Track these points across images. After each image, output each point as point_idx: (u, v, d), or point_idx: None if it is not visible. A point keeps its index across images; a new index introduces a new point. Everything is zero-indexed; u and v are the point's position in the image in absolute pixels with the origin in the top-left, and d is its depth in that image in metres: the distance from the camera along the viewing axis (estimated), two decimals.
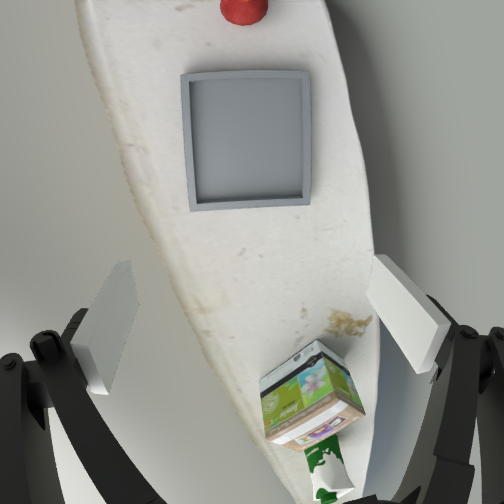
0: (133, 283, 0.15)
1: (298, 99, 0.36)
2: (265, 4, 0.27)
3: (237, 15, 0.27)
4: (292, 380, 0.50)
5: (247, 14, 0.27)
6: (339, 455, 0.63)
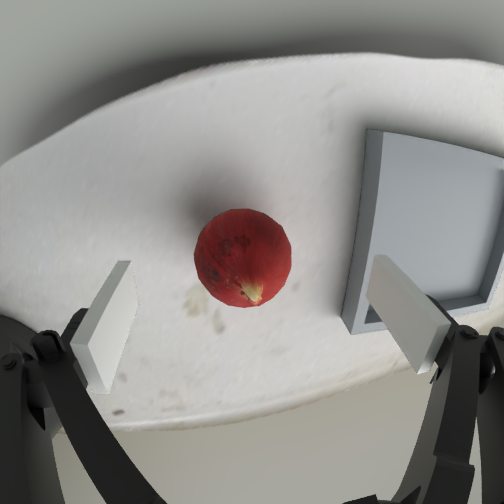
0: (133, 283, 0.15)
1: (413, 151, 0.20)
2: (258, 230, 0.16)
3: (283, 283, 0.18)
4: None
5: (285, 268, 0.17)
6: None
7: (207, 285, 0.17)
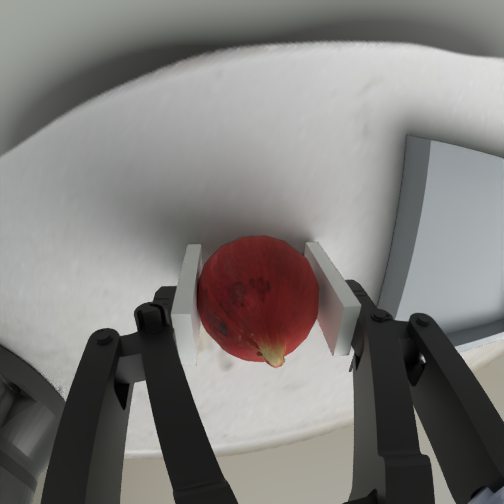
0: (201, 265, 0.17)
1: (457, 163, 0.15)
2: (280, 269, 0.12)
3: None
4: None
5: (313, 316, 0.13)
6: None
7: (213, 336, 0.13)
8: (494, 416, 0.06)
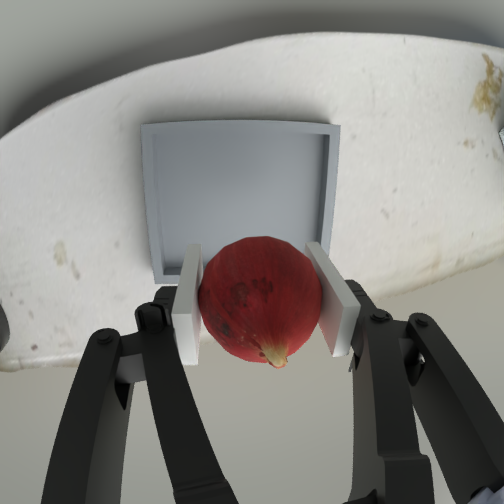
0: (201, 265, 0.17)
1: (184, 133, 0.27)
2: (282, 270, 0.12)
3: (311, 333, 0.14)
4: None
5: (316, 317, 0.13)
6: None
7: (215, 336, 0.13)
8: (494, 416, 0.06)
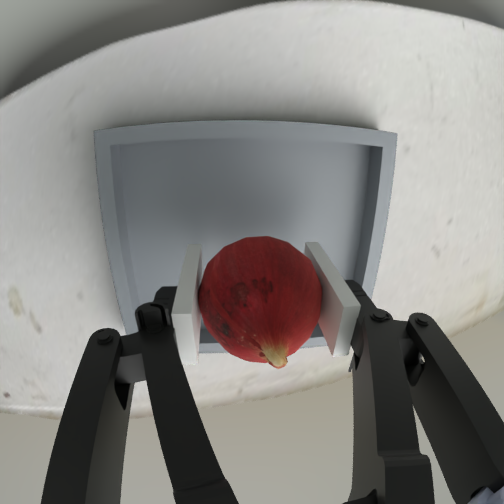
0: (202, 265, 0.17)
1: (162, 141, 0.17)
2: (282, 270, 0.12)
3: (311, 333, 0.14)
4: None
5: (316, 317, 0.13)
6: None
7: (215, 336, 0.13)
8: (493, 416, 0.06)
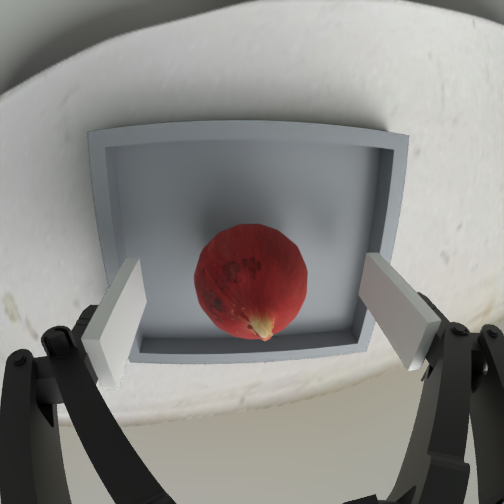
0: (141, 280, 0.15)
1: (160, 143, 0.16)
2: (270, 251, 0.14)
3: (297, 313, 0.15)
4: None
5: (301, 296, 0.14)
6: None
7: (208, 313, 0.14)
8: None
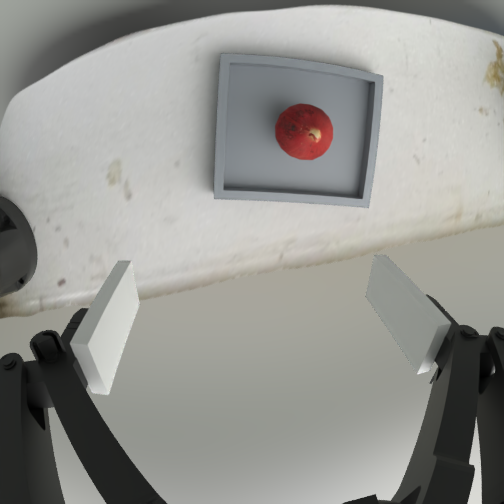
0: (133, 283, 0.15)
1: (255, 67, 0.29)
2: (316, 109, 0.26)
3: (329, 144, 0.28)
4: None
5: (331, 133, 0.27)
6: None
7: (285, 138, 0.27)
8: None
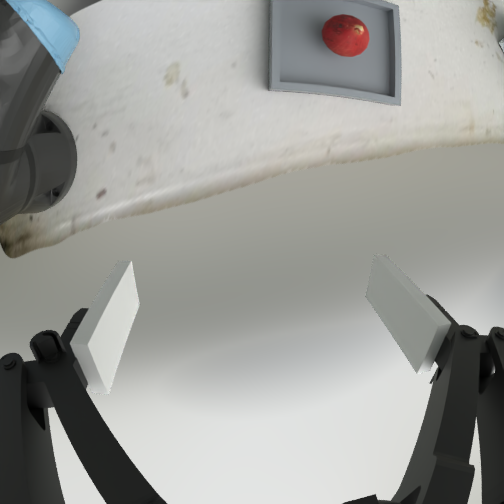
0: (133, 283, 0.15)
1: None
2: (355, 17, 0.26)
3: (367, 43, 0.28)
4: None
5: (368, 34, 0.27)
6: None
7: (334, 34, 0.27)
8: None
